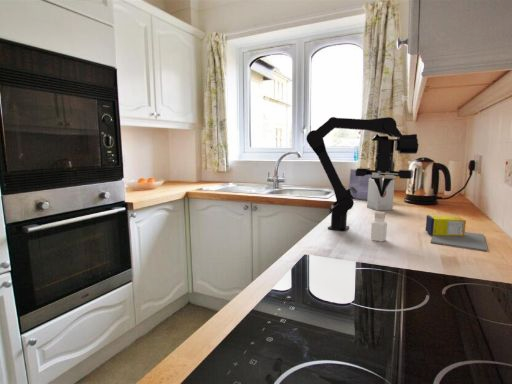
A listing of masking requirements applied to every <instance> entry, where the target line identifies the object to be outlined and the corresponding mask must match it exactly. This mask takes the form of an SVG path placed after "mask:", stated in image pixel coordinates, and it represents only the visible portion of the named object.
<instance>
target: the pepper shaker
mask: <svg viewBox="0 0 512 384" xmlns="http://www.w3.org/2000/svg"><path fill="white" fill-rule="evenodd" d="M385 218H386V212H385V211H384V212H383V211H375V212H374V220H373V221H372V222H371V226H370V227H371V230H370V231H371V233H370V240H372V241H375V242H380V243H382V242H384V241H386V240H387V229H388V222H386V221H385Z"/></svg>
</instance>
